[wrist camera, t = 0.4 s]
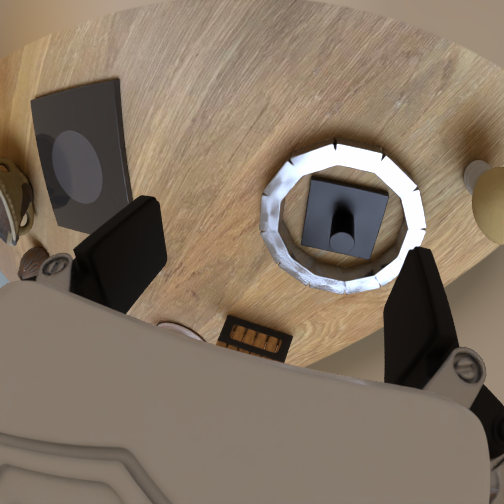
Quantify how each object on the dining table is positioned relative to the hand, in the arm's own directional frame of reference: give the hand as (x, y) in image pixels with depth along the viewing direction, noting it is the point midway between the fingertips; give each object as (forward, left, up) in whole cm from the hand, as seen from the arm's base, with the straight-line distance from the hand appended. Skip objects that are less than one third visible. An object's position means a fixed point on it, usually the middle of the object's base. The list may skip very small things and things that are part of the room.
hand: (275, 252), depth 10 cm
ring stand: (+9, +4, -20) cm, 22 cm away
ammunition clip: (+31, -4, -20) cm, 37 cm away
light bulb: (0, +17, -20) cm, 26 cm away
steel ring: (+9, +4, -20) cm, 22 cm away
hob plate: (+7, -33, -20) cm, 39 cm away
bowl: (+12, -54, -20) cm, 59 cm away
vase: (+30, -56, -20) cm, 67 cm away
